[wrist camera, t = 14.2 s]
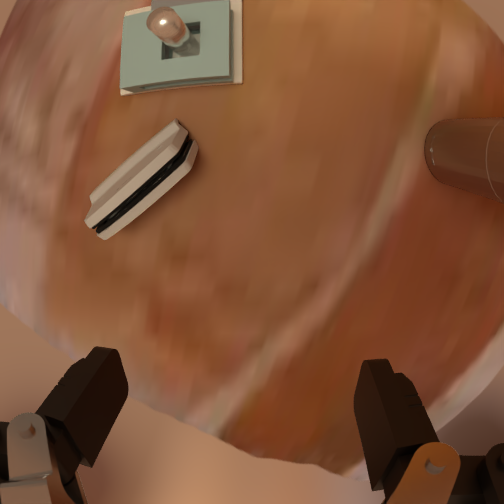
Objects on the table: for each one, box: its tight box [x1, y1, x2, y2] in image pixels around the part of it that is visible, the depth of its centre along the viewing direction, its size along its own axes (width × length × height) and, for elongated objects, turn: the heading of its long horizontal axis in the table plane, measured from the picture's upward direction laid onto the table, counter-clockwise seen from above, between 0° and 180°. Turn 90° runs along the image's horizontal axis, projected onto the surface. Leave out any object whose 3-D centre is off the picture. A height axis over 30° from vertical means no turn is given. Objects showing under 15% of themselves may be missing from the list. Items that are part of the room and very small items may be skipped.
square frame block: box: [120, 0, 243, 96], centre depth 31 cm, size 16×13×5 cm
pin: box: [146, 6, 200, 57], centre depth 28 cm, size 3×3×11 cm
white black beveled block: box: [84, 119, 199, 240], centre depth 36 cm, size 17×5×10 cm, turn 125°
